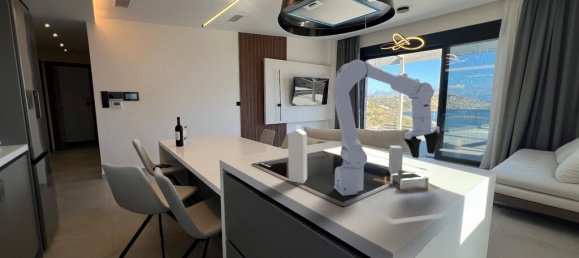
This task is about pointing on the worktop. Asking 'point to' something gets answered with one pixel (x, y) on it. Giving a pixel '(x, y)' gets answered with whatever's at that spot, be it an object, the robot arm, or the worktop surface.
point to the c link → (410, 181)
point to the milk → (297, 155)
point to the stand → (413, 189)
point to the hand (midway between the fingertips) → (423, 155)
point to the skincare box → (395, 159)
